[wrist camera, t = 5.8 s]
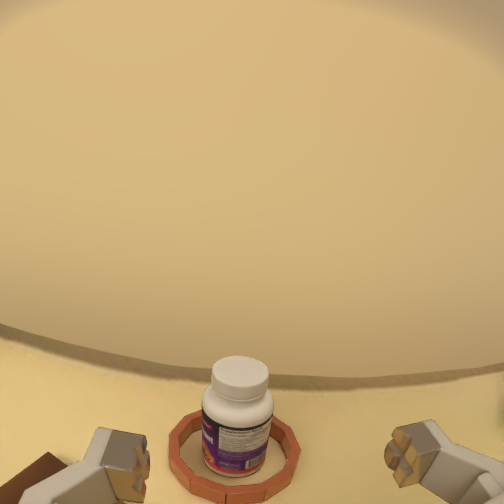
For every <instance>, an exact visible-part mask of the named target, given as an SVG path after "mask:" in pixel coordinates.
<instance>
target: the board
mask: <svg viewBox="0 0 504 504" xmlns="http://www.w3.org/2000/svg"><path fill="white" fill-rule="evenodd" d="M66 467H68V466H67V465H65V464H64V463H63V462H61V461H60V460H59V459H57V458H56V457H55V456H54V455H52V454H51V453H50V452H47V453H46V454H44V455H43V456H42V457H40V458H39V459H38V460H36V461H35V462H34V463H32V464H31V465H30V466H28V467H27V468H26V469H24V470H23V471H22V472H20V473H19V474H18V475H16V476H15V477H13V478H12V479H11V480H9V481H8V482H7V483H5V484H4V485H2V486H1V487H0V504H18V503H19V501H20V499H21V497H22V495H23V493H24V491H25V490H26V489H28V488H30V487H32V486H34V485H35V484H37V483H39V482H41V481H43V480H45V479H47V478H48V477H50V476H52V475H54V474H56V473H57V472H59V471H61V470H63V469H64V468H66ZM114 504H126V503H124V502H122V501H120V500H117V501H116V502H115V503H114Z"/></svg>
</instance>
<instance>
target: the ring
mask: <svg viewBox="0 0 504 504" xmlns="http://www.w3.org/2000/svg"><path fill="white" fill-rule="evenodd" d="M199 429H202V410H199V411H196V412H194V413H191V414H188V415H186V416H184V417H183V419H182V420H181V421H180V422H179V423H178V424H177V426H176V427H175V428H174V429H173V430H172V431H171V432H170V434H169V459H170V466H171V469H172V471H173V473H174V474H175V475H176V476H177V477H178V479H179V480H180V481H181V482H182V483H183V484H184V486H185V487H186V488H187V489H188V490H189V491H190V492H191V493H193V494H195V495H198V496H200V497H203V498H206V499H208V500H211V501H214V502H217V503H220V504H249V503H258V502H263V501H265V500H267V499H268V498H270V497H272V496H273V495H275V494H276V493H278V492H279V491H281V490H282V489H284V488H285V487H286V486H288V485H289V484H290V482H291V479H292V477H293V474H294V471H295V468H296V465H297V462H298V458H299V455H300V451H301V450H300V446H299V444H298V442H297V440H296V438H295V435H294V433H293V431H292V429H291V428H290V427H289V426H288V425H286V424H285V423H283V422H282V421H280V420H279V419H278V418H276V417H275V416H273V417H272V422H271V428H270V433H269V434H270V435H271V436H272V437H274V438H275V439H276V440H278V441H279V442H281V444H282V446H283V449H284V451H285V454H286V456H287V459H288V460H287V462H286V465H285V468H284V469H283V470H282V471H280V472H279V473H277V474H276V475H274V476H272V477H271V478H269V479H268V480H266V481H264V482H263V483H261V484H252V485H241V486H225V485H222V484H219V483H216V482H213V481H210V480H207V479H205V478H202V477H199V476H197V475H195V473H194V472H193V471H192V470H191V469H190V468H189V467H188V466H187V465H186V463H185V462H184V461H183V460H182V459H181V458H180V449H179V448H180V447H181V445H182V444H183V443H184V442H185V440H186V439H187V438H188V437H189V435H190V434H191V433H192V432H194V431H197V430H199Z"/></svg>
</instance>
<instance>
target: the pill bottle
mask: <svg viewBox="0 0 504 504" xmlns="http://www.w3.org/2000/svg"><path fill="white" fill-rule="evenodd" d="M268 377H269V371H268V368H267V367H266V366H265V365H264V364H263V363H262V362H260V361H258V360H256V359H254V358H251V357H246V356H230V357H225V358H222V359H220V360H218V361H217V362H216V363H215V364H214V365H213V368H212V384H211V385H210V386H208V387H207V389H206V390H205V392H204V394H203V397H202V453H203V458H204V461H205V463H206V464H207V466H208V467H209V468H210V469H211V470H213V471H214V472H216V473H218V474H220V475H223V476H227V477H243V476H247V475H250V474H252V473H254V472H256V471H257V470H258V469H259V468H260V467H261V466H262V464H263V462H264V459H265V455H266V450H267V444H268V439H269V433H270V428H271V422H272V417H273V410H274V399H273V396H272V394H271V393H270V391H269V390H268V389H267V388H268Z"/></svg>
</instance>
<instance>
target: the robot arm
mask: <svg viewBox="0 0 504 504" xmlns="http://www.w3.org/2000/svg"><path fill="white" fill-rule="evenodd" d="M391 436H392V438H393V439H392V440H391V441H390V442H389V443H388V444H387V446H386V448H385V451H384V458H385V462H386V464H387V466H388V467H389V468H390V469H392V470H394V473H393V477H394V479H395V481H396V483H397V484H398V486H399V488H402V487H406V486H410V485H413V484H417V483H419V484H420V485H422V486H423V487H425V488H426V489H428V490H429V491H431V492H432V493H434V494H435V495H437V496H439V497H440V498H442V499H443V500H445V501H446V502H448V503H450V504H504V462H501V461H499V460H496V459H493V458H491V457H488V456H486V455H483V454H480V453H478V452H475V451H473V450H470V449H468V448H466V447H463V446H461V445H458V444H455V445H454V444H453V443H452V442H451V440H450V439H449V438H448V437H447V435H446V434H445V433H444V432H443V431H442V429H441V428H440V427H439V426H438V424H437V423H436V422H435V421H434V420H432V419H430V420H426V421H422V422H418V423H413V424H409V425H405V426H400V427H397V428H395V429H394V431H393V433H392V435H391ZM146 446H147V440H146V436H145V435H141V434H135V433H129V432H124V431H119V430H113V429H108V428H103V427H98V428H97V429H96V431H95V433H94V435H93V438H92V440H91V442H90V445H89V447H88V449H87V452H86V454H85V457H84V459H83V461H77V462H75V463H73V464H71V465H70V466H68V467H66V468H64V469H63V470H61V471H59V472H57V473H56V474H54V475H52V476H50V477H48V478H47V479H45V480H43V481H41V482H39V483H37V484H35V485H34V486H32V487H30V488H28V489H26V490H25V491H24V493H23V495H22V497H21V499H20V501H19V503H18V504H114V503H115V502H116V501H117V500H122V501H128V502H135V503H142V504H143V503H144V498H145V493H146V485H145V480H146V479H148V477H149V471H150V456H149V452H148V451H147V450H146Z"/></svg>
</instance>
